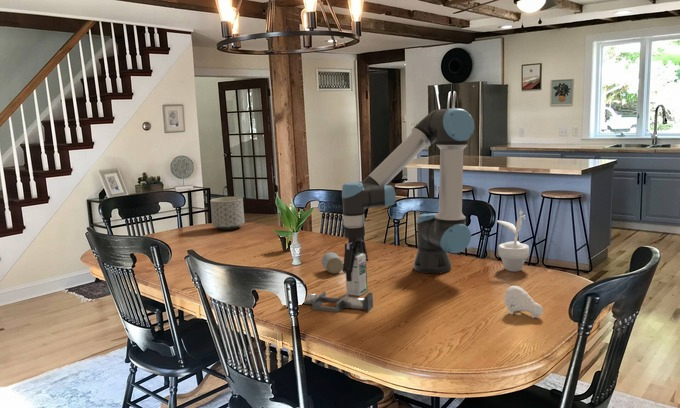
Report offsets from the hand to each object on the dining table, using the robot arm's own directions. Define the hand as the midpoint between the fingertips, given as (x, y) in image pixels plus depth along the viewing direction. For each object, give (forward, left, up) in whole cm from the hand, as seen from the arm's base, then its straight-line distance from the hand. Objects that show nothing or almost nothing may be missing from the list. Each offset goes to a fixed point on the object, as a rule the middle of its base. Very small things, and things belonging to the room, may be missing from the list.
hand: (356, 283), depth 195 cm
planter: (+116, -92, -4) cm, 148 cm away
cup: (+55, -51, -4) cm, 75 cm away
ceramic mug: (+18, -24, -4) cm, 30 cm away
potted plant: (-51, -42, -4) cm, 66 cm away
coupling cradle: (+4, +15, -3) cm, 16 cm away
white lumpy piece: (-58, +7, -4) cm, 59 cm away
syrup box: (0, 0, -4) cm, 4 cm away
